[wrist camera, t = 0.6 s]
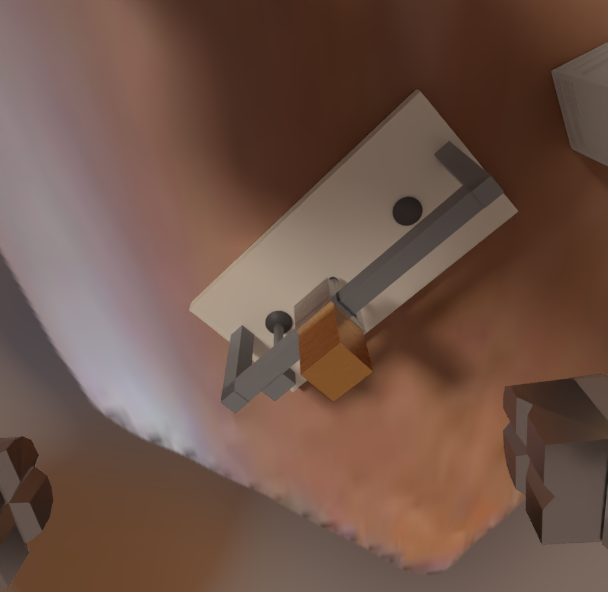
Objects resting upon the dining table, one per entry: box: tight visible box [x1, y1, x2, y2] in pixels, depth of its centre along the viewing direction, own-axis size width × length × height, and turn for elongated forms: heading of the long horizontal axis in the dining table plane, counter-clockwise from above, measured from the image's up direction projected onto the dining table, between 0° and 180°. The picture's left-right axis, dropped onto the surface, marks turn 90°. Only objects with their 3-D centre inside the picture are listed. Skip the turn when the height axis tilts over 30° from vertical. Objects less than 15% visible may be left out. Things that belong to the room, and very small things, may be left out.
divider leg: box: [294, 277, 373, 402], centre depth 42 cm, size 4×4×16 cm
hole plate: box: [189, 89, 518, 413], centre depth 46 cm, size 14×28×12 cm, turn 134°
